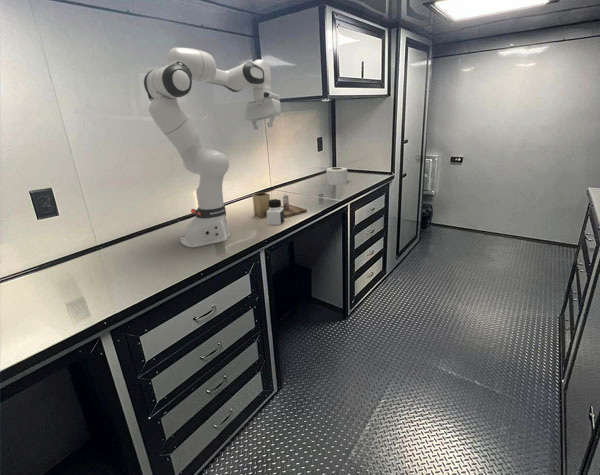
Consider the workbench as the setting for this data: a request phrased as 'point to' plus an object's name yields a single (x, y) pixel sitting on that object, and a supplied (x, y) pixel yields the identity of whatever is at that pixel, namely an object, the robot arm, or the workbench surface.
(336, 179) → the white paper roll
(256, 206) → the sleeve
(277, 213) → the medicine bottle
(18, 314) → the workbench surface
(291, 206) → the post board
